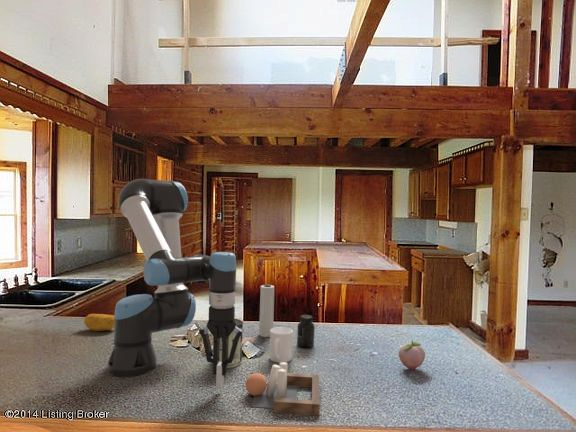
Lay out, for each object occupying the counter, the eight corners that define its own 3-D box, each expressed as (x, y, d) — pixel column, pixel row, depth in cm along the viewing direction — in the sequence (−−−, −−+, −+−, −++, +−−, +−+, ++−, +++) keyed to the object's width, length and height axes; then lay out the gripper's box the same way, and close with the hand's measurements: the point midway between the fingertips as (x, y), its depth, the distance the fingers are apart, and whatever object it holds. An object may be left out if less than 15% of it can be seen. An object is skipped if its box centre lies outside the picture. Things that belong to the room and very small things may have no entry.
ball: (268, 395, 106) (248, 402, 106) (270, 385, 112) (251, 392, 112) (260, 375, 106) (241, 382, 106) (263, 367, 112) (244, 373, 112)
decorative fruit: (406, 362, 137) (407, 335, 136) (427, 369, 131) (428, 341, 131) (392, 369, 130) (393, 340, 130) (415, 377, 124) (416, 347, 124)
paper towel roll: (267, 338, 158) (269, 287, 157) (256, 335, 161) (257, 285, 161) (277, 334, 164) (278, 285, 163) (265, 331, 167) (267, 283, 167)
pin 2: (276, 402, 105) (277, 372, 105) (277, 398, 107) (278, 368, 107) (284, 403, 105) (285, 372, 105) (285, 398, 107) (286, 369, 107)
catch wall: (273, 412, 100) (274, 401, 100) (280, 382, 118) (280, 372, 118) (319, 415, 99) (319, 404, 99) (318, 384, 117) (318, 374, 117)
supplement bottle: (294, 347, 148) (295, 317, 148) (300, 342, 155) (301, 313, 154) (310, 350, 146) (311, 319, 145) (316, 344, 152) (317, 315, 152)
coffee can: (223, 354, 139) (224, 316, 139) (247, 359, 135) (248, 320, 134) (206, 364, 130) (207, 323, 129) (231, 370, 125) (232, 328, 125)
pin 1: (278, 394, 110) (279, 365, 110) (278, 390, 112) (279, 361, 112) (286, 394, 110) (287, 365, 110) (286, 390, 112) (287, 362, 112)
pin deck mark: (251, 407, 102) (251, 406, 102) (258, 383, 116) (258, 383, 116) (294, 410, 101) (294, 409, 101) (297, 386, 115) (297, 385, 115)
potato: (112, 334, 157) (113, 317, 157) (80, 332, 159) (80, 315, 159) (121, 329, 164) (122, 313, 164) (90, 327, 166) (91, 311, 166)
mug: (285, 368, 128) (286, 338, 128) (262, 365, 130) (263, 335, 130) (294, 356, 139) (295, 328, 139) (273, 353, 142) (274, 325, 142)
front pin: (265, 395, 108) (272, 367, 108) (266, 391, 110) (272, 363, 110) (273, 397, 108) (280, 369, 107) (274, 393, 110) (280, 366, 110)
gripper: (196, 307, 106) (193, 390, 107) (241, 309, 105) (239, 393, 106) (203, 301, 114) (201, 378, 114) (246, 303, 113) (244, 381, 113)
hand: (219, 385), depth 110 cm, fingers closed
